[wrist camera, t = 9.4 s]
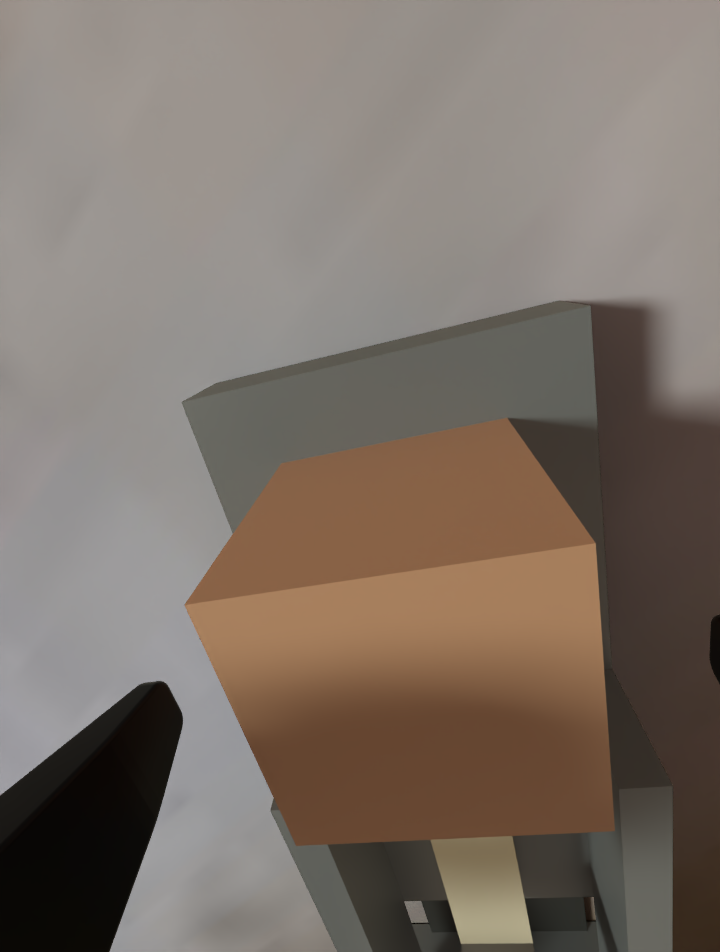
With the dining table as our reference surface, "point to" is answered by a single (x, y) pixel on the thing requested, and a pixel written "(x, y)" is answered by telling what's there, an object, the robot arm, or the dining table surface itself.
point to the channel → (579, 481)
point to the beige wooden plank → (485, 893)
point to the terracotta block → (416, 643)
